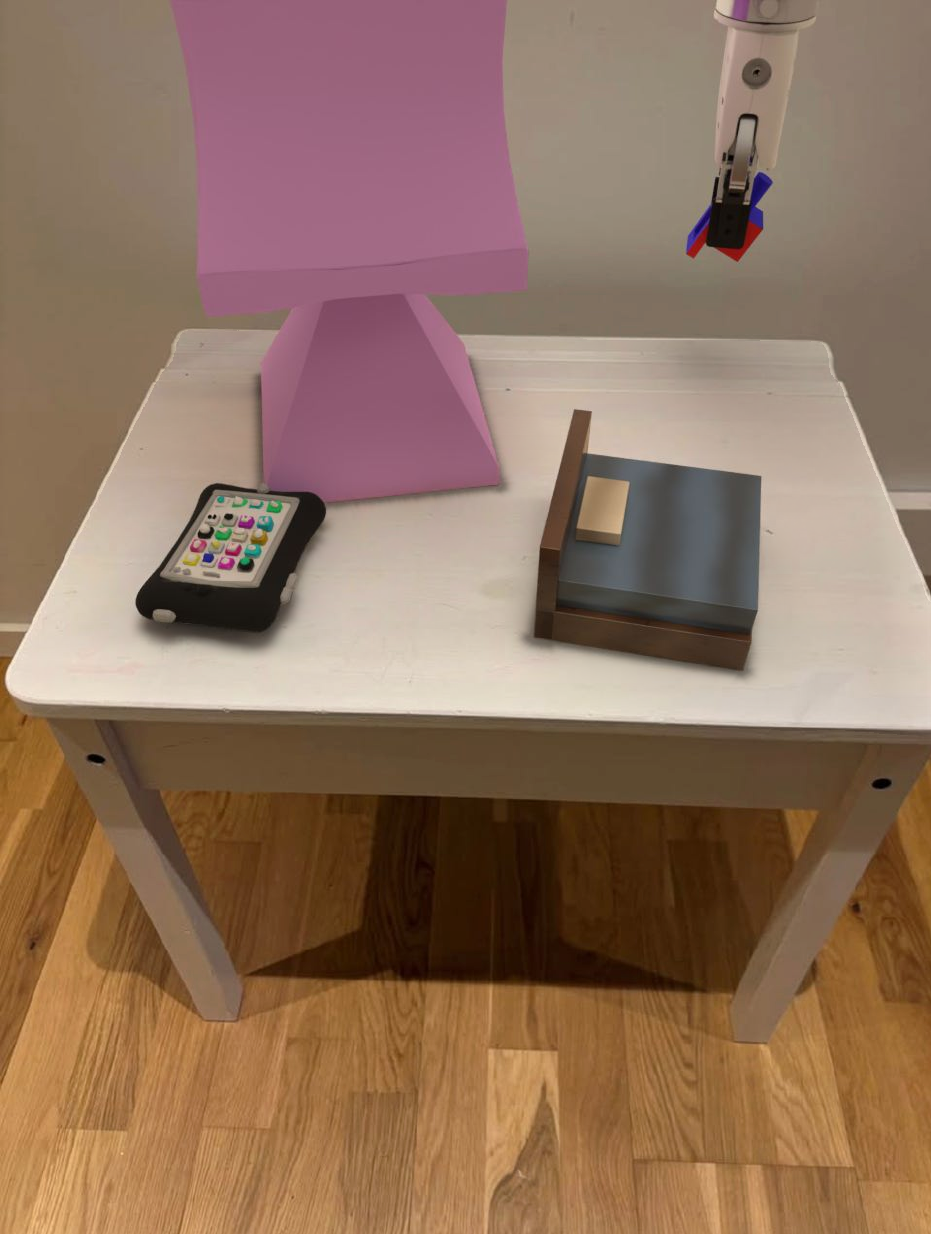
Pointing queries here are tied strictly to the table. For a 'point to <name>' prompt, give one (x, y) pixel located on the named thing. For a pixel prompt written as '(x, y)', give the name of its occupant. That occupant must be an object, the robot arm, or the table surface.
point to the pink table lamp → (356, 225)
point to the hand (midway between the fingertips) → (725, 233)
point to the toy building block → (753, 229)
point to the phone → (233, 559)
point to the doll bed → (649, 557)
